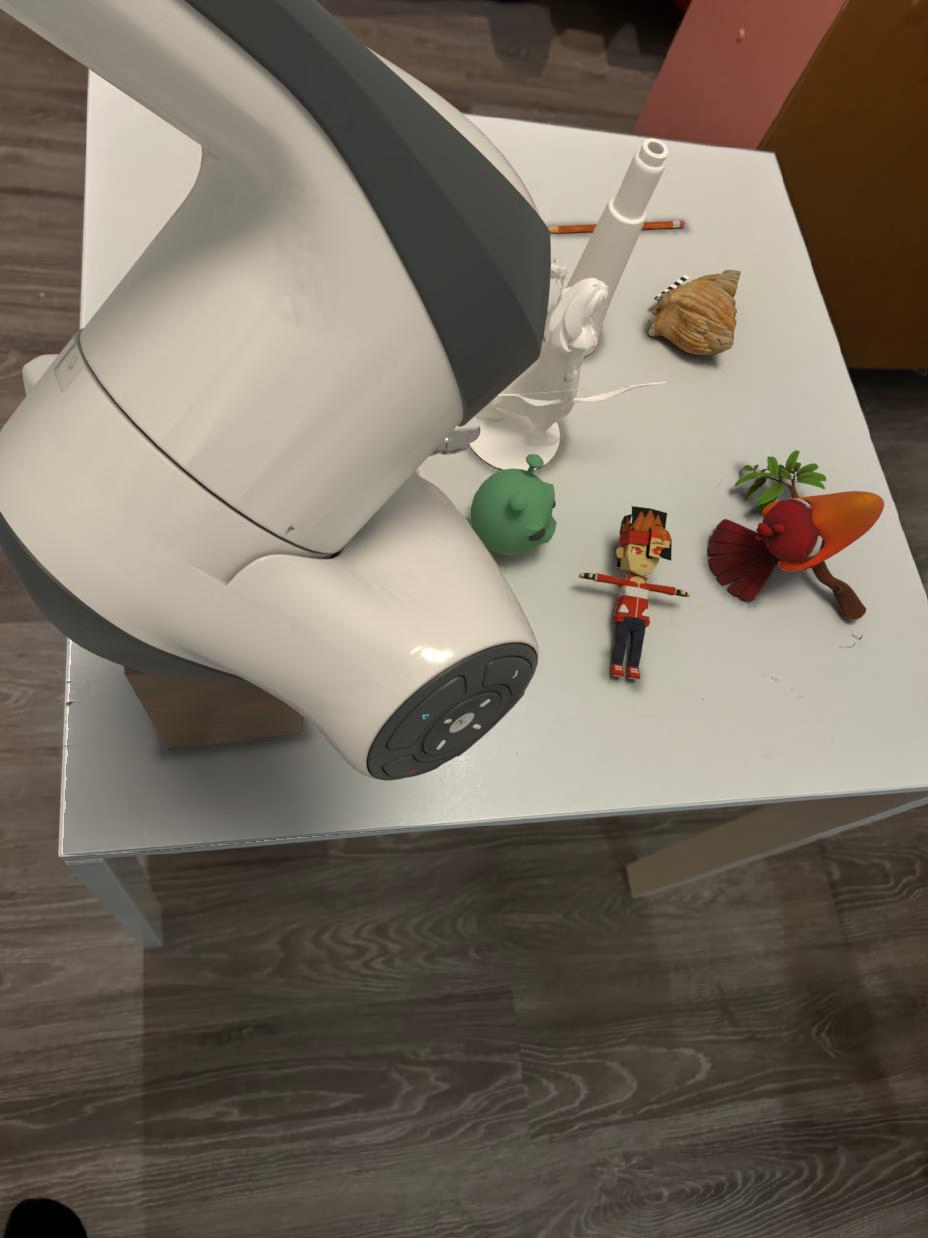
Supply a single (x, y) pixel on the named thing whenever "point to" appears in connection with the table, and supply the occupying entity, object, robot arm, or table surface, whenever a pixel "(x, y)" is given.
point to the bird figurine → (793, 533)
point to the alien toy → (514, 510)
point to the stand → (210, 710)
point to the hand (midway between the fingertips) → (213, 333)
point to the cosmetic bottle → (620, 226)
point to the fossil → (698, 313)
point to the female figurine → (545, 382)
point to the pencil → (592, 226)
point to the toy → (636, 582)
